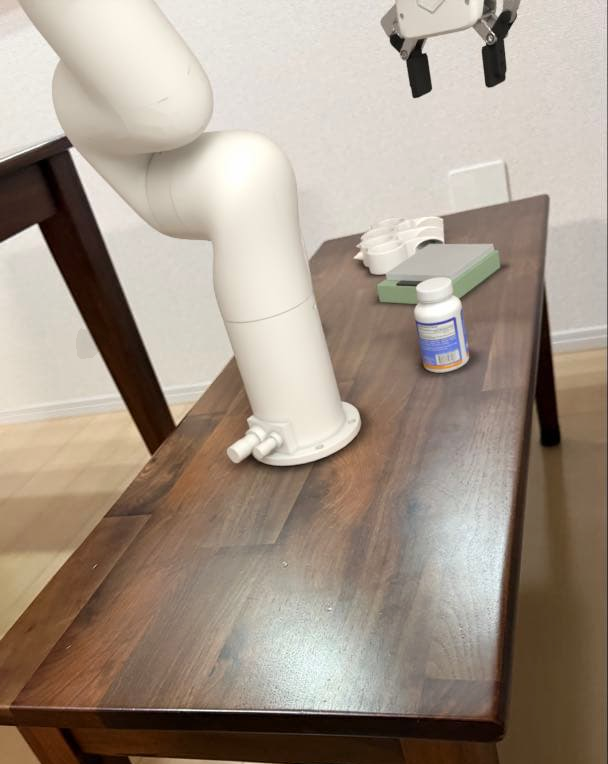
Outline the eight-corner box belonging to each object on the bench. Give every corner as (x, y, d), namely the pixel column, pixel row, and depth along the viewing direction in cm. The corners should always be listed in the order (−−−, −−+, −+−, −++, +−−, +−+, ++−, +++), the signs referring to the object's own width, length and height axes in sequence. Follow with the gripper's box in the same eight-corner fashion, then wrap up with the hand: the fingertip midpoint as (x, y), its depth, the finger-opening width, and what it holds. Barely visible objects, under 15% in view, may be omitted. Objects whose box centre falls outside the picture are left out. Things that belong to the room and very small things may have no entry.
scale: (449, 305, 113) (445, 280, 111) (379, 302, 121) (374, 278, 119) (500, 267, 120) (497, 243, 118) (431, 266, 127) (427, 243, 125)
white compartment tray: (446, 261, 127) (352, 281, 131) (444, 226, 142) (359, 245, 145) (443, 239, 125) (347, 260, 129) (441, 206, 140) (355, 225, 143)
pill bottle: (439, 351, 102) (425, 273, 97) (478, 354, 99) (466, 274, 93) (415, 372, 99) (399, 293, 94) (454, 376, 96) (440, 294, 90)
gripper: (346, -69, 89) (377, 107, 98) (489, -114, 77) (509, 89, 87) (388, -80, 93) (414, 90, 102) (530, -126, 81) (545, 70, 91)
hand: (458, 89), depth 94 cm, fingers open, 9 cm apart
